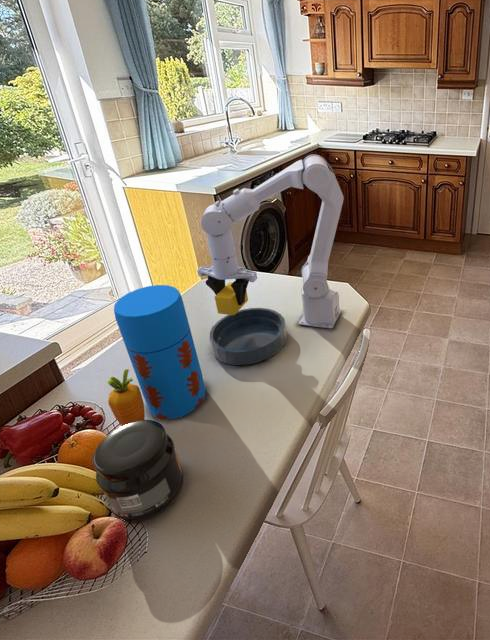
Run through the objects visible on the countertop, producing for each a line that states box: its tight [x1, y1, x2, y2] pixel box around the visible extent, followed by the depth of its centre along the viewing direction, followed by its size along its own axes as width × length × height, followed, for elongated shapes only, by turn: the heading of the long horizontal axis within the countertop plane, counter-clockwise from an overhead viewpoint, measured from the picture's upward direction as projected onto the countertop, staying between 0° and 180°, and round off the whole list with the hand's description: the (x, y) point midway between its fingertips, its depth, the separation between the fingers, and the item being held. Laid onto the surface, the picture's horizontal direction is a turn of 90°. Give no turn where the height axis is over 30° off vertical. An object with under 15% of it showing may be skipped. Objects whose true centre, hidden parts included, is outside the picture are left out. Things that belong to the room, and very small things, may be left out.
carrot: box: [107, 368, 146, 426], centre depth 74 cm, size 5×5×15 cm
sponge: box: [214, 281, 249, 316], centre depth 103 cm, size 4×7×5 cm, turn 171°
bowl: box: [209, 307, 288, 366], centre depth 101 cm, size 18×18×4 cm
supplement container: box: [92, 419, 184, 523], centre depth 65 cm, size 10×10×12 cm
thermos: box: [113, 284, 206, 421], centre depth 79 cm, size 11×11×25 cm
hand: (232, 302), depth 103 cm, fingers closed on sponge, 4 cm apart
